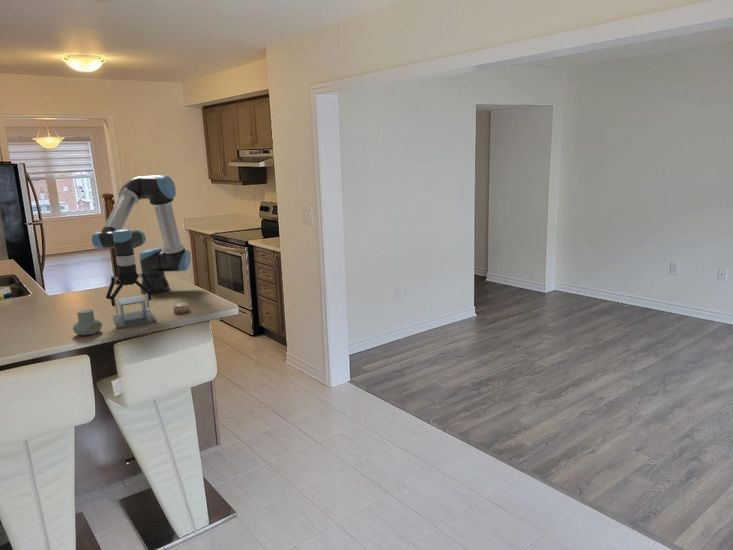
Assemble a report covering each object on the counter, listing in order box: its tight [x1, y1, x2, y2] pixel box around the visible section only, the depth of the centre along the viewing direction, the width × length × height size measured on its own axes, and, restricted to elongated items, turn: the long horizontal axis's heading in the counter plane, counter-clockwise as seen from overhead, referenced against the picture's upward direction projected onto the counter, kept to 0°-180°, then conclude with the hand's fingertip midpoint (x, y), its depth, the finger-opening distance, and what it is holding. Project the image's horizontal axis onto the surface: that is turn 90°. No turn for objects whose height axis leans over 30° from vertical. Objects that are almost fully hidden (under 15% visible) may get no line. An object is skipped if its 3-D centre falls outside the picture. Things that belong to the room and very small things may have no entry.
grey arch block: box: [117, 294, 147, 323], centre depth 237 cm, size 12×10×9 cm
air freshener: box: [72, 308, 103, 336], centre depth 221 cm, size 11×8×10 cm
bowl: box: [172, 302, 190, 314], centre depth 248 cm, size 7×7×4 cm
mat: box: [112, 309, 157, 330], centre depth 238 cm, size 20×16×1 cm
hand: (132, 310), depth 238 cm, fingers open, 13 cm apart
